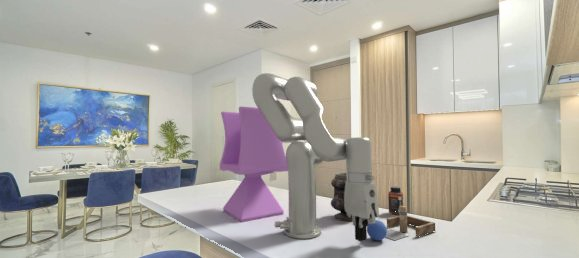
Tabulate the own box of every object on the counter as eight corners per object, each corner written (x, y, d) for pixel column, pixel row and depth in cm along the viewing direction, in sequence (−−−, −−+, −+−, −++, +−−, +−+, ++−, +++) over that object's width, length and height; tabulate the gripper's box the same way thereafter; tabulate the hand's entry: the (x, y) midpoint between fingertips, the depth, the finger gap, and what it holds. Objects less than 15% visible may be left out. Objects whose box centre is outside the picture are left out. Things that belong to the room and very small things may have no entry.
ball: (373, 244, 78) (373, 224, 78) (363, 237, 84) (363, 218, 84) (391, 242, 79) (390, 222, 79) (380, 235, 85) (379, 217, 85)
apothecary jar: (367, 220, 102) (366, 174, 103) (341, 223, 98) (340, 175, 99) (349, 212, 113) (348, 171, 114) (325, 215, 109) (325, 172, 110)
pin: (402, 233, 87) (402, 207, 88) (398, 230, 90) (397, 205, 90) (409, 232, 88) (408, 207, 88) (404, 230, 90) (403, 205, 91)
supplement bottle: (405, 215, 108) (404, 188, 109) (390, 214, 109) (389, 188, 110) (401, 211, 114) (401, 186, 114) (387, 211, 115) (387, 185, 116)
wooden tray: (418, 237, 83) (418, 228, 83) (386, 227, 93) (386, 218, 93) (435, 231, 89) (435, 222, 89) (403, 222, 99) (403, 214, 99)
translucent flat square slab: (394, 240, 80) (394, 240, 80) (376, 234, 86) (376, 233, 86) (409, 235, 85) (409, 235, 85) (391, 229, 91) (391, 229, 91)
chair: (219, 211, 116) (220, 111, 118) (262, 204, 129) (263, 114, 131) (239, 223, 97) (240, 106, 100) (288, 214, 110) (287, 110, 113)
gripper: (388, 179, 74) (390, 245, 73) (350, 174, 86) (352, 230, 85) (369, 182, 70) (372, 251, 69) (333, 176, 83) (334, 234, 81)
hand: (361, 239), depth 77 cm, fingers closed
